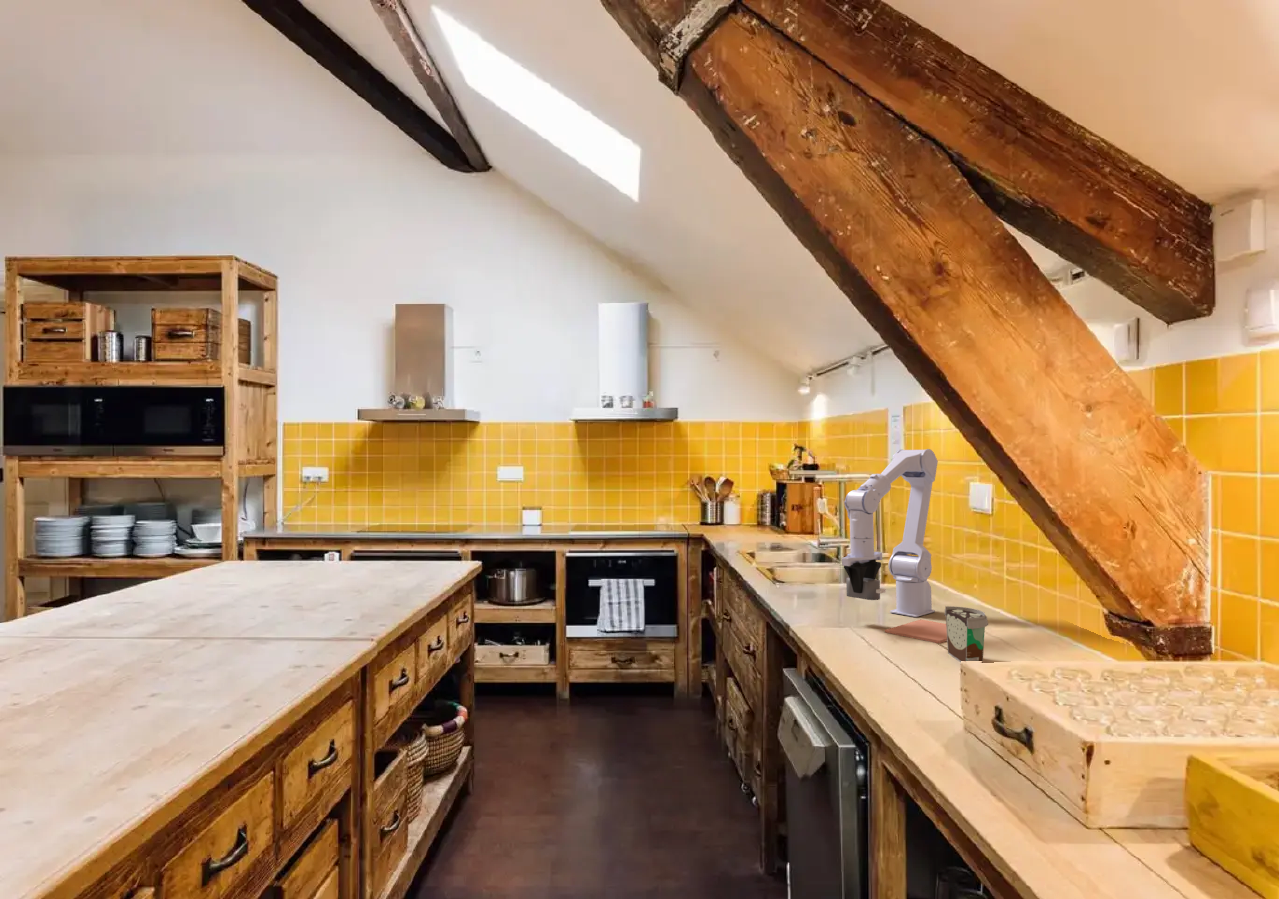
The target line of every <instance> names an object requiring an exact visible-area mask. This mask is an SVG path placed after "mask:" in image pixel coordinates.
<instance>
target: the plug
mask: <svg viewBox="0 0 1279 899" xmlns="http://www.w3.org/2000/svg"><path fill="white" fill-rule="evenodd" d="M845 580H846V581H845V582H846V585H845V586H846V589H845V590H846V597H848V598H854V599H855V598H857V599H861V600H868V601H880V600H881V594H883V593H886V589H885V588H881V581H880V580H879V579H877V578H875V579H869V578H864V579H863V590H862V593H855V592H853V588H852V585H851V581H850V578H849V576H847V577H846V579H845Z"/></svg>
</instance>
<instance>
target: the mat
mask: <svg viewBox="0 0 1279 899" xmlns="http://www.w3.org/2000/svg"><path fill="white" fill-rule="evenodd" d="M884 633H887V634H891V635H897V636H902V637H906V638H911V639H917V640H921V641H927V642H930V643H937V644H941V643H945V642H947V629H946V623H944V622H943V623H942V622H938V621H932V620H927V619H917V620H913V621H910V622H907V623H904V624H900V625H897V626H892V627H890V628H887V629H884Z"/></svg>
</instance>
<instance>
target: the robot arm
mask: <svg viewBox="0 0 1279 899" xmlns="http://www.w3.org/2000/svg"><path fill="white" fill-rule="evenodd" d="M891 459H892V460H891V461H890V463H889V464H888V465H886V467H885V469H883V471H882V472H881V473H872V474H870V476H869V478H868V479H867V480H866V481H865V482H863V483H862V484H861V485H860V486H859V487H858V488H857V489H853V490H851V491H849V492H848V493H847V494H846V496H845V499H844V501H843V503H844V508H845V509H846V513H847V518H848V519H849V538H850V539H849V543H850V544H849V545H850V549H849V550H850V553H847V555H846V556H845V557H841V566H843V569H844V570H845V572H846V574H847V577H849V578H850V581H851V585H852V588H853V592H855V593H862V590H863V579H864V578H869V579H877V578H876V577H877V575H878V573H879V570H880V569H881V567H882V562H881V561H883V552H881V551H875V538H874V536H875V534H874V530H875V528H874V527H875V525H874V513H875V512H876V511H877V510H878V507H879V504H880V502H881V500H882V498H884V497H885V496H886V495H887V494H888V493H889V492H890V491H891V488H892V483H893V482H894V481H896V480H897V479H898V478H899V477H901V478H902V479H903V480H904V481H906V482H907V483H909V485H910V491H909V499H908V505H907V511H906V516H905V524H904V530H903V536H902V540H901V542H900V543H899V544H897V545H896V546H894V547H893V549H892V553H891V556H890V558H889V560H888V570H889V573H890V574H891V575H892V577H893V580H895V594H896V595H895V596H896V597H895V598H896V599H895V600H896V603H895V604H896V608H895V609H891V610H889V613H891V614H896V615H903V616H908V617H912V618H913V617H914V618H918V617H921V616H925V615H928V614H932V613H935V611H936V610H935V609H932V608H933V607H932V604H933V603H932V587H931V586H932V585H931V584H930V582H929V581H928V579H929V578H930V576H931V573H932V569H933V567H932V554H931V553H930V551H929V550H928V549H927V548H926V547H925V546H924V539H925V534H926V527H927V522H928V521H927V520H928V514H929V507H930V502H931V497H932V496H931V495H932V491H933V490H932V489H933V483H934V482H935V481H936V475H937V474H936V473H937V469H938V462H939V461H938V459H937V456H936V454H935V453H934V451H933V450H932V449H929V448H927V449H901V448H900V449H898V450H897V451H896V452H895V453H893V454H892V458H891Z"/></svg>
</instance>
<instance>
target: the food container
mask: <svg viewBox="0 0 1279 899" xmlns="http://www.w3.org/2000/svg"><path fill="white" fill-rule="evenodd" d="M944 616H945V622H946V623H945V624H946V629H947V641H946V642H947V654H948V655H949V656H951V657H952V658H954V659H955V660H957V661H958V662H959V663H961V661H983V662H984V648H985V647H984V645H985V632H986V630H985V629H986V627H988V626H989V621H988V616H987V615H986V613H985V612H984V611H982V610H979V609H976V608H971V607H963V606H949V605H947V606H946V605H945V608H944Z"/></svg>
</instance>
